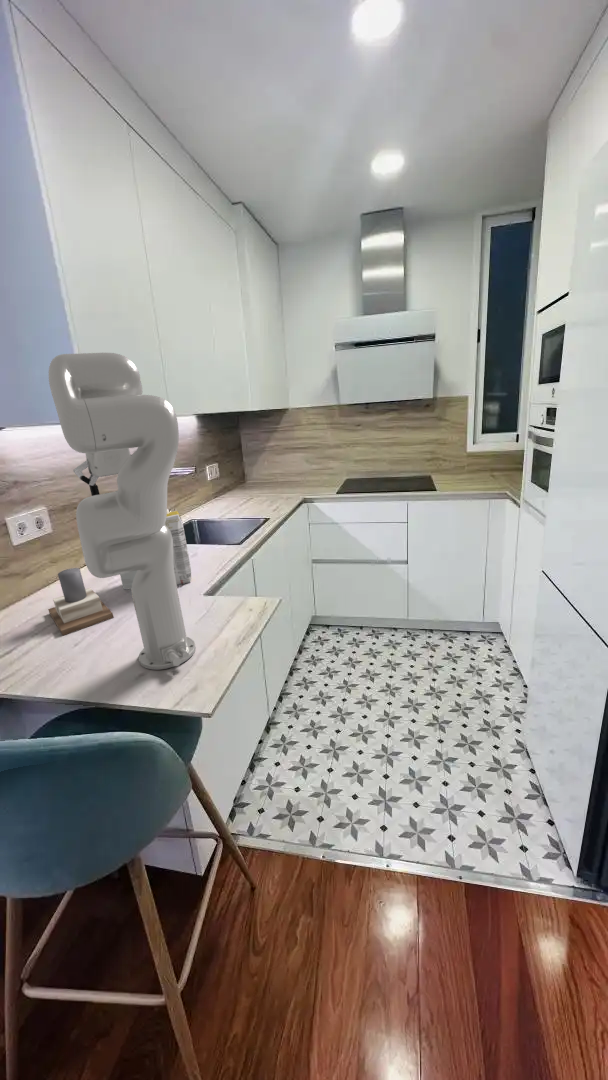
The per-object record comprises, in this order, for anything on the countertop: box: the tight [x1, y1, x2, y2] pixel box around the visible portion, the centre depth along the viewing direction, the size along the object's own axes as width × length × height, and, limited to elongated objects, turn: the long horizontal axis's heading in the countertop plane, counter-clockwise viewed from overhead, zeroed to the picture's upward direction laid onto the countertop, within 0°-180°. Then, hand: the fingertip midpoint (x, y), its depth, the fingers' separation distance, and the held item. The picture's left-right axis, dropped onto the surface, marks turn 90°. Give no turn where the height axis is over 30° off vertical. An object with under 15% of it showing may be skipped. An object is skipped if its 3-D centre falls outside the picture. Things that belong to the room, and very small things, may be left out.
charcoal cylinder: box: [57, 567, 87, 603], centre depth 122 cm, size 6×6×8 cm
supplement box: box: [120, 570, 138, 590], centre depth 142 cm, size 7×7×13 cm
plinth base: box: [47, 587, 114, 636], centre depth 124 cm, size 18×13×6 cm
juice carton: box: [165, 508, 192, 586], centre depth 140 cm, size 9×8×24 cm
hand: (117, 496), depth 115 cm, fingers open, 9 cm apart
